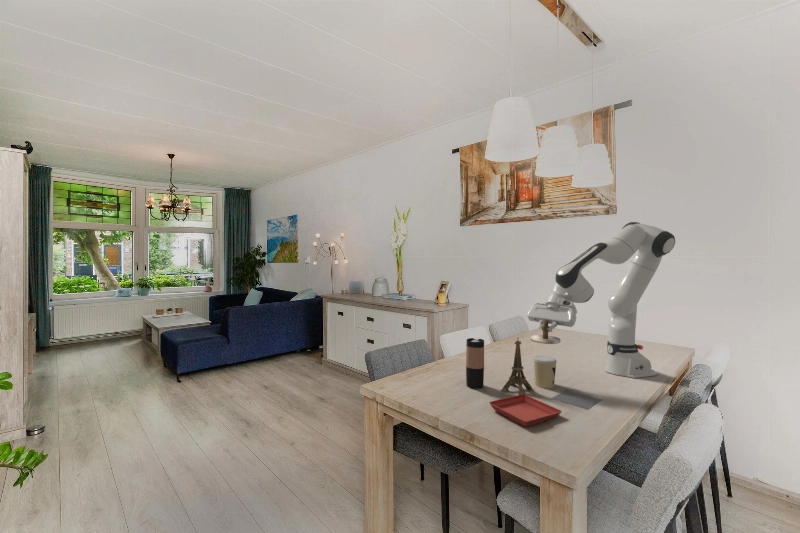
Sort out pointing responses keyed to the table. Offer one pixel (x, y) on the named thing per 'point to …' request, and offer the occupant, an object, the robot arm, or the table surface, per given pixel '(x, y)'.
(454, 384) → the table surface
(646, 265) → the robot arm
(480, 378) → the travel mug
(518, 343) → the eiffel tower
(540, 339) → the lid
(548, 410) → the plant saucer
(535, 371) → the coffee cup
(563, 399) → the mat
